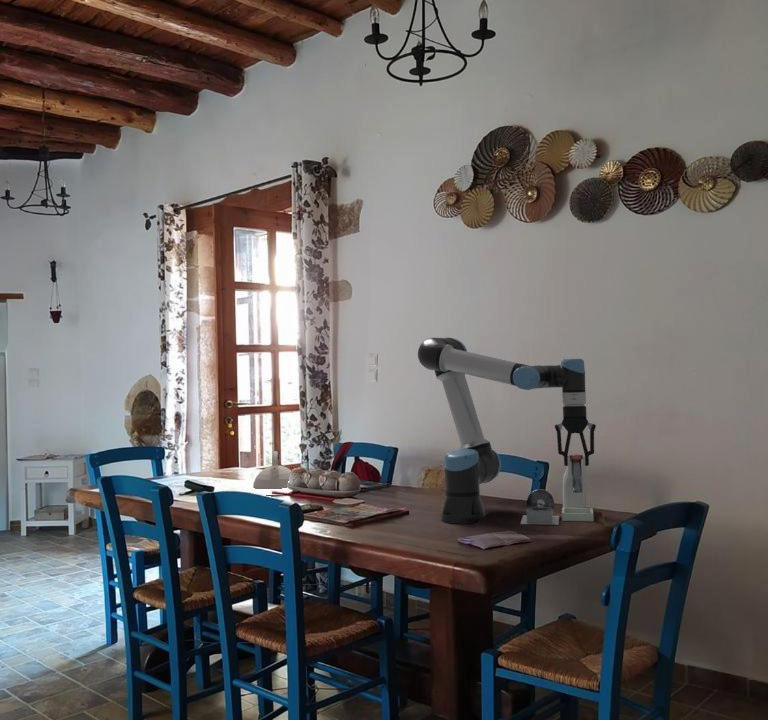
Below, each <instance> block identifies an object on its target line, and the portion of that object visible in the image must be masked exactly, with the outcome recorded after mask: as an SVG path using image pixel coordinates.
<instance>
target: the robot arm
mask: <svg viewBox="0 0 768 720" xmlns="http://www.w3.org/2000/svg"><path fill="white" fill-rule="evenodd" d="M417 358H418V361H419V363H420V364H421V366H423V367H424V368H425V369H427V370H430V371H434V373H435V377H436V379H437V380H439V381H441V382H442V385H443V388H444V392H445V395H446V399H447V402H448V406H449V408H450V412H451V416H452V419H453V422H454V425H455V429H456V432H457V435H458V439H459V442H460V446H459V448H458V449H454V450H451V451H448V452H447V453H446V454H445V455H444V463H443V465H444V488H445V498H444V502H443V505H442V508H441V512H440V520H441V521H442V522H444V523H449V524H475V523H476V524H477V523H478V522H479V520H482V519H484V518H485V517H486V511H485V509H484V506H483V503H482V500H481V495H480V494H481V492H480V485H483V484H486V483H489V482H491V481H493V480H495V479H496V478H497V477H498V476H499V474H500V473H501V469H502V460H501V457H500V456H499V454H498V453H497V452H496V451H495V450H494V449H493V448H492V446H491V442H490V441H489V440H487V439H486V438H485V437H484V433H483V430H482V427H481V424H480V421H479V417H478V415H477V411H476V408H475V404H474V401H473V397H472V395H471V391H470V388H469V384H468V382H467V378H466V375H468V376H473V377H478V378H481V379H485V380H491V381H494V382H498V383H502V384H507V385H510V386H514V387H517V388H518V389H521V390H526V391H530V390H536V389H551V388H553V389H554V388H561V389H562V390H561V392H562V393H561V394H562V405H563V406H562V421H561V422H560V423H557V424H555V425H554V428H555V431H556V437H557V439H556V440H557V453H558V455H561V456H563V464H564V467H567V466H568V476H571V474H570V455H569V449H570V445H571V438H572V435H573V434H579V438H580V442H581V445H582V450H583V454H584V455H583V459H582V474H583V476H584V477H587V475H586V473H587V472H586V467H588V466H590V465H589V464H590V462H589V461H590V460H589V459H590V458H589V457H590V456H591V455H594V454H595V430H596V427H597V425H596V424H595V423H591V422H589V420H588V417H587V406H586V403H587V396H586V395H587V394H586V393H587V392H586V371H585V369H586V368H585V367H586V366H585V361H584V359H582V358H562V359H561V360H560V361H561V362H560V364H558V365H550V364H549V365H548V364H547V365H528V364H523V363H518V362H515V361H510V360H505V359H501V358H496V357H491V356H489V355H488V356H487V355H483V354H479V353H475V352H470V351H468V350H467V348H466V346H465V344H464V343H463V342H462V341H461V340H459V339H456V338H452V337H430V338H426V339H424V341H422V342H421V343H420V345H419V347H418V351H417ZM587 426H588V429H589V430H590V431H589V450H588V447H587V443H586V438H585V435H584V430H586V428H587ZM563 427H564V429H565V430H566V432H567V434H566V441H565V445H564V450H563V448H562V432H561V430H563Z"/></svg>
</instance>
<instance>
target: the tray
mask: <svg viewBox="0 0 768 720" xmlns="http://www.w3.org/2000/svg"><path fill="white" fill-rule="evenodd" d="M561 521H563V522H564V521H565V522H594V509H593V507H586V508H563V507H562V508H561Z"/></svg>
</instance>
